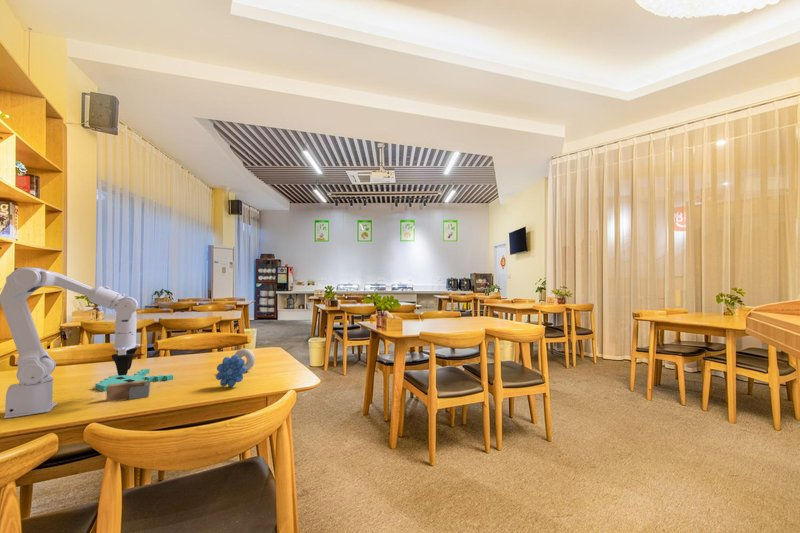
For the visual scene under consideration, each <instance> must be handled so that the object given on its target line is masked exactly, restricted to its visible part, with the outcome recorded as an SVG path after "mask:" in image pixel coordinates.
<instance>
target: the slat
mask: <svg viewBox="0 0 800 533" xmlns="http://www.w3.org/2000/svg"><path fill="white" fill-rule="evenodd" d="M139 385H145V380H143V381H135V382H127V383H119V384H111V385H108V386H107V391H106V402H115V401H121V400H127V399H128V400H129V391H130V387H132V386H139Z"/></svg>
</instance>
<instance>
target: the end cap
mask: <svg viewBox="0 0 800 533" xmlns="http://www.w3.org/2000/svg"><path fill="white" fill-rule="evenodd" d="M150 393H151V382H150V381H145V385H139V386H132V387H130V391H129V398H128V400H137V399H143V398H149V397H150Z"/></svg>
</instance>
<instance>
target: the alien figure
mask: <svg viewBox="0 0 800 533" xmlns="http://www.w3.org/2000/svg"><path fill="white" fill-rule="evenodd" d="M147 374H148V376H147ZM149 374H150V368H142V369H140V370H139V371H137V372H136V373H134V374H133V375H128V374H127V375H122V376H118V374H114V375H108V377H107V378H104V379H103V380H100V381H99V382H97V383H95V386H94V388H96V390H99V391H102V392H107V386H108V385H111V384H119V383H127V382H135V381H143V380H145V381H150V383H151V382H163V381H166V382H169V381H172V380H174V374H172V373H171V374H164V375H163V374H159V375H149Z"/></svg>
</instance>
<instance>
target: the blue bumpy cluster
mask: <svg viewBox="0 0 800 533" xmlns="http://www.w3.org/2000/svg"><path fill="white" fill-rule="evenodd" d="M238 359H239V358H238V356H237V355H235V354H233V355H232V356H231V357H229V356H225V357H224V358H223V359H222V362H221V363H219V364H218V365H217V366H216V371H217V373H216V375H215V380H218V381H220V382H219V384H220V386H222V387H225V386H228V388H233V387H234V386H235V385H236V384H237V383H242V381H243V380H244V376H243V375H244V374H245V373H246V372H247V371H246V370H247V368H246V367H245V366H243V365H244V364H245V363H246V362H245V361H246V360H245V359H244V358H242V359H239V360H238Z"/></svg>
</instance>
